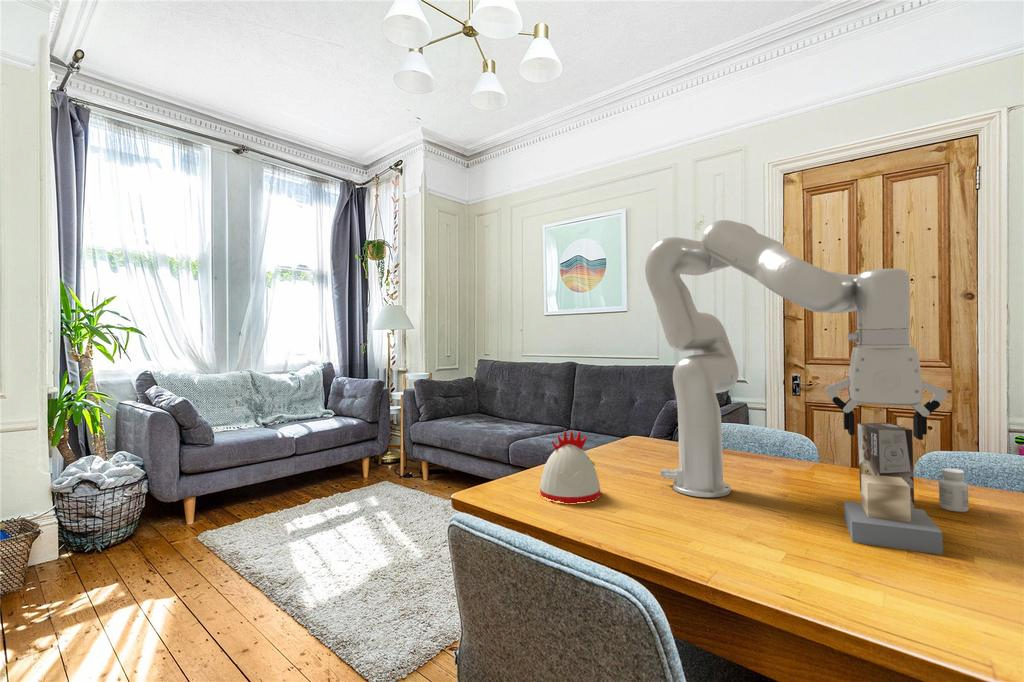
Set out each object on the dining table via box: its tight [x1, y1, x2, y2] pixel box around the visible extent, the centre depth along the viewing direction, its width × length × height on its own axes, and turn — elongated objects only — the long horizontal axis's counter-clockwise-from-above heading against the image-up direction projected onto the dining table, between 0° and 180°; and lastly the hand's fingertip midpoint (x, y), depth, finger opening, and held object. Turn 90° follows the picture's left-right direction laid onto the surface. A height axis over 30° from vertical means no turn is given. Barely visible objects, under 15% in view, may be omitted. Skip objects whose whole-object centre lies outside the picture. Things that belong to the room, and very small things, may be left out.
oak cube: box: [860, 474, 911, 522], centre depth 88 cm, size 6×6×6 cm
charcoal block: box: [843, 500, 944, 556], centre depth 88 cm, size 12×12×4 cm
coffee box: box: [857, 422, 915, 509], centre depth 105 cm, size 9×6×16 cm
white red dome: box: [539, 430, 601, 503], centre depth 116 cm, size 14×14×15 cm
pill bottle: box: [938, 467, 970, 513], centre depth 100 cm, size 4×4×8 cm
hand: (883, 436), depth 88 cm, fingers open, 9 cm apart
